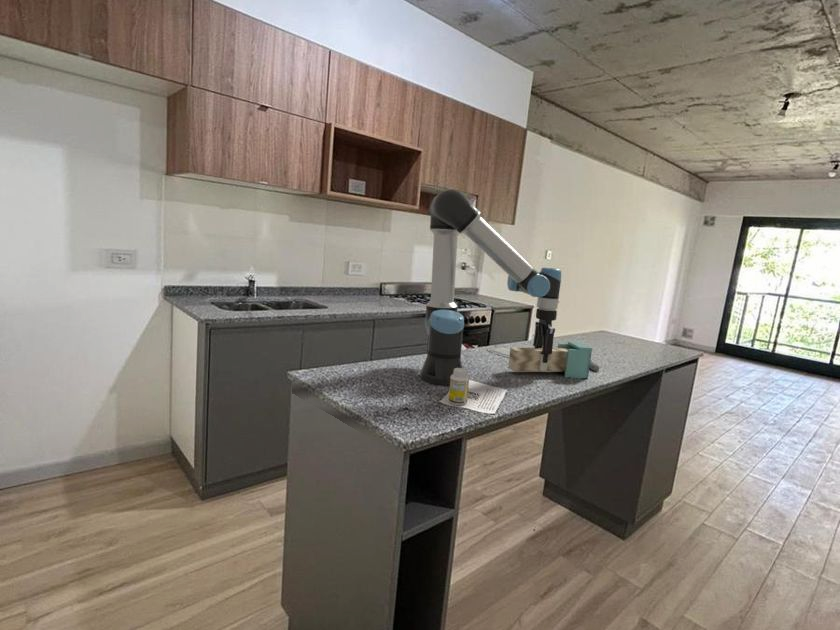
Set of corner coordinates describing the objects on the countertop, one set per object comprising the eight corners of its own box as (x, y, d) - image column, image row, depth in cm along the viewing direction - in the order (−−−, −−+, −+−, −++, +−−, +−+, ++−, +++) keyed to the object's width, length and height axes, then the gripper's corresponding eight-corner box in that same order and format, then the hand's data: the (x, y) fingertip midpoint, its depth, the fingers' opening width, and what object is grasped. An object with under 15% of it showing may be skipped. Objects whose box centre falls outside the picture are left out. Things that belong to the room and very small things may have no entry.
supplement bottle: (457, 398, 140) (460, 366, 138) (470, 403, 135) (473, 370, 134) (444, 401, 136) (447, 368, 134) (457, 407, 132) (460, 373, 130)
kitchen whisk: (591, 373, 181) (593, 358, 180) (559, 352, 215) (561, 339, 214) (606, 374, 182) (608, 358, 181) (572, 353, 215) (573, 340, 214)
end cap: (565, 377, 171) (569, 346, 169) (554, 370, 181) (558, 340, 179) (587, 378, 172) (592, 348, 170) (576, 371, 182) (580, 342, 180)
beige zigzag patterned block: (513, 371, 169) (515, 350, 168) (508, 367, 174) (510, 347, 173) (571, 371, 175) (573, 351, 174) (564, 367, 180) (566, 348, 178)
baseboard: (542, 371, 180) (560, 368, 187) (543, 364, 179) (560, 361, 187) (485, 352, 203) (503, 350, 211) (486, 346, 203) (503, 344, 210)
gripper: (566, 313, 162) (559, 375, 166) (547, 305, 180) (540, 362, 184) (546, 312, 161) (539, 375, 165) (528, 304, 179) (522, 361, 183)
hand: (539, 368), depth 174 cm, fingers closed on beige zigzag patterned block, 5 cm apart
